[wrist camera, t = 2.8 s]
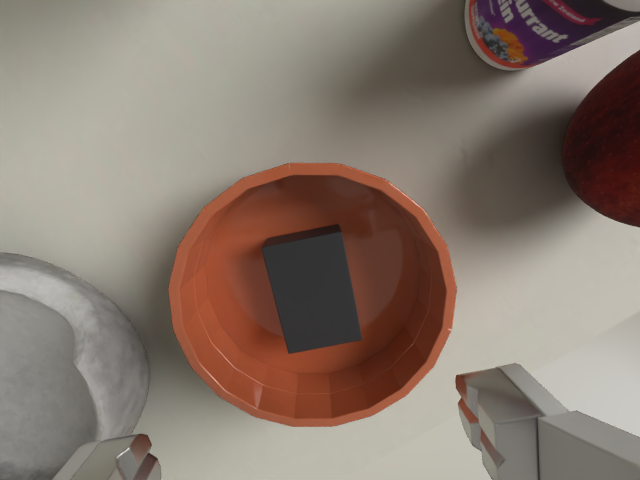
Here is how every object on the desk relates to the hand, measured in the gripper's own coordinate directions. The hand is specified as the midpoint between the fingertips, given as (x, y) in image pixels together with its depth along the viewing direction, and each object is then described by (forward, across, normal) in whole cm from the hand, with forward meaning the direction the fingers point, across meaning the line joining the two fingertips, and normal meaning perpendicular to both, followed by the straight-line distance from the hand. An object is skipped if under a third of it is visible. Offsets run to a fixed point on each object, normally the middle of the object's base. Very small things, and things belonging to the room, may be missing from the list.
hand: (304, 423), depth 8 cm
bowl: (+10, 0, 0) cm, 10 cm away
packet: (+10, 0, 0) cm, 10 cm away
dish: (+10, +17, +2) cm, 20 cm away
